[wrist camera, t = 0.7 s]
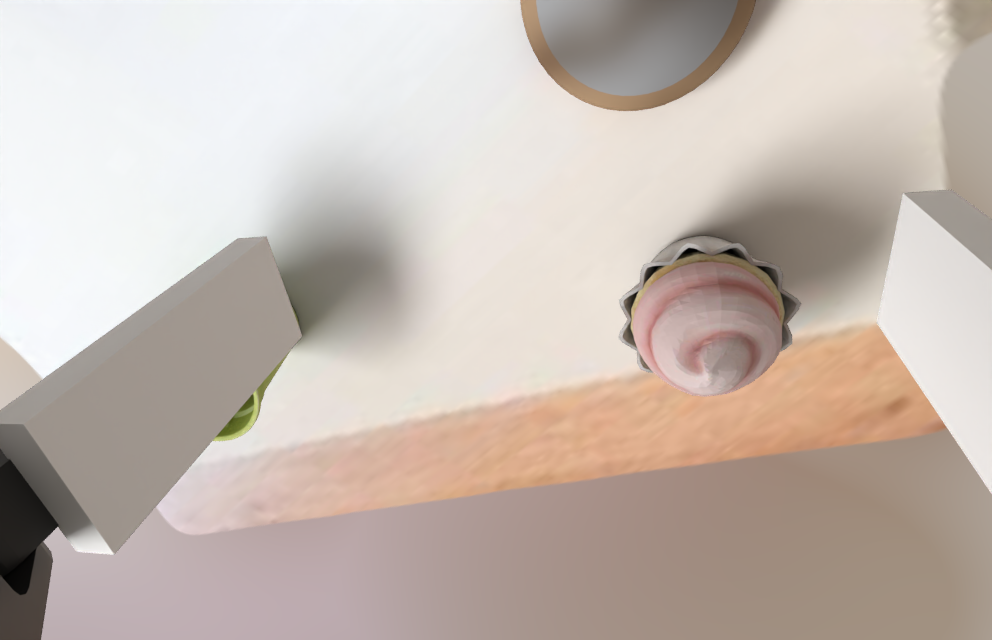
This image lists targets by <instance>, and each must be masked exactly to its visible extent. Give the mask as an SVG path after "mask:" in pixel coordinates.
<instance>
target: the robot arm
mask: <svg viewBox="0 0 992 640" xmlns="http://www.w3.org/2000/svg"><path fill="white" fill-rule="evenodd" d="M877 324H878V325H879V327H880V328H881V330H882V331H883V333H884V334H885V336H886V337H887V339H888V340H889V342H890V343H891V345H892V346H893V348H894V349H895V351H896V352H897V354H898V355H899V357H900V358H901V360H902V361H903V363H904V364H905V366H906V367H907V369H908V370H909V372H910V373H911V375H912V376H913V378H914V379H915V381H916V382H917V384H918V385H919V386H920V388H921V389H922V391H923V392H924V394H925V395H926V397H927V398H928V400H929V401H930V403H931V404H932V406H933V407H934V409H935V410H936V412H937V413H938V415H939V416H940V418H941V419H942V421H943V422H944V424H945V425H946V427H947V428H948V430H949V431H950V433H951V434H952V436H953V437H954V439H955V440H956V442H957V443H958V444H959V446H960V447H961V449H962V450H963V452H964V453H965V455H966V456H967V458H968V459H969V461H970V462H971V464H972V465H973V467H974V468H975V470H976V471H977V473H978V474H979V476H980V477H981V479H982V480H983V482H984V483H985V485H986V486H987V488H988V489H989V491H990V492H991V494H992V219H991V218H990V217H989V216H987V215H986V214H984V213H983V212H981V211H980V210H979V209H978V208H976V207H975V206H973V205H972V204H971V203H969V202H968V201H967V200H965V199H964V198H962V197H961V196H959V195H958V194H957V193H956V192H954V191H953V190H939V191H925V192H910V193H903V196H902V201H901V206H900V210H899V215H898V220H897V225H896V230H895V235H894V240H893V245H892V250H891V255H890V260H889V265H888V270H887V275H886V280H885V284H884V289H883V294H882V299H881V304H880V309H879V314H878V319H877ZM301 337H302V334H301V331H300V328H299V325H298V323H297V320H296V317H295V314H294V312H293V309H292V306H291V303H290V301H289V298H288V295H287V292H286V289H285V287H284V284H283V281H282V278H281V276H280V273H279V270H278V267H277V265H276V262H275V259H274V256H273V253H272V251H271V248H270V245H269V242H268V240H267V237H252V238H238V239H236V240H235V241H234V242H232V243H231V244H229V245H228V246H227V247H225V248H224V249H223V250H221V251H220V252H218V253H217V254H216V255H214V256H213V257H211V258H210V259H209V260H207V261H206V262H205V263H203V264H202V265H200V266H199V267H198V268H196V269H195V270H194V271H192V272H191V273H189V274H188V275H187V276H185V277H184V278H182V279H181V280H180V281H178V282H177V283H176V284H174V285H173V286H171V287H170V288H169V289H167V290H166V291H164V292H163V293H162V294H160V295H159V296H158V297H156V298H155V299H153V300H152V301H151V302H149V303H148V304H146V305H145V306H144V307H142V308H141V309H140V310H138V311H137V312H135V313H134V314H133V315H131V316H130V317H128V318H127V319H126V320H124V321H123V322H122V323H120V324H119V325H117V326H116V327H115V328H113V329H112V330H110V331H109V332H108V333H106V334H105V335H104V336H102V337H101V338H99V339H98V340H97V341H95V342H94V343H92V344H91V345H90V346H88V347H87V348H86V349H84V350H83V351H81V352H80V353H79V354H77V355H76V356H74V357H73V358H72V359H70V360H69V361H68V362H66V363H65V364H63V365H62V366H61V367H59V368H58V369H56V370H55V371H54V372H52V373H51V374H50V375H48V376H47V377H45V378H44V379H43V380H41V381H40V382H39V383H37V384H36V385H34V386H33V387H32V388H30V389H29V390H27V391H26V392H25V393H23V394H22V395H21V396H19V397H18V398H16V399H15V400H14V401H12V402H11V403H9V404H8V405H7V406H6V407H4V408H3V409H1V410H0V640H41V635H42V628H43V621H44V615H45V609H46V602H47V595H48V589H49V582H50V576H51V569H52V563H53V559H52V554H51V551H50V550H49V548H48V547H47V546H46V545H45V544H44V542H43V541H44V540H45V539H46V538H47V537H48V536H49V535H50V534H51V533H52V532H53V531H54V530H55V529H56V528H57V527H59V529H60V530H61V531H62V533H63V534H64V535H65V537H66V538H67V539H68V541H69V542H70V543H71V545H72V546H73V547H74V549H75V550H76V551H77V552H87V553H100V554H112V555H115V554H116V552H117V551H118V550H119V549H120V548H121V546H122V545H123V544H124V543H125V542H126V540H128V538H129V537H130V536H131V535H132V534H133V533H134V531H135V530H136V529H137V528H138V527H139V526H140V524H141V523H142V522H143V521H144V519H146V517H147V516H148V515H149V514H150V513H151V512H152V510H153V509H154V508H155V507H156V506H157V505H158V503H159V502H160V501H161V500H162V499H163V498H164V497H165V495H166V494H167V493H168V492H169V491H170V490H171V488H172V487H173V486H174V485H175V484H176V483H177V481H178V480H179V479H180V478H181V477H182V476H183V474H184V473H185V472H186V471H187V470H188V469H189V467H190V466H191V465H192V464H193V463H194V462H195V460H196V459H197V458H198V457H199V456H200V455H201V453H202V452H203V451H204V450H205V449H206V448H207V446H208V445H209V444H210V443H211V442H212V441H213V439H214V438H215V437H216V436H217V435H218V434H219V433H220V431H221V430H222V429H223V428H224V427H225V426H226V424H227V423H228V422H229V421H230V420H231V419H232V417H233V416H234V415H235V414H236V413H237V412H238V410H239V409H240V408H241V407H242V406H243V405H244V403H245V402H246V401H247V400H248V399H249V398H250V396H251V395H252V394H253V393H254V392H255V391H256V389H257V388H258V387H259V386H260V385H261V384H262V382H263V381H264V380H265V379H266V378H267V377H268V376H269V374H270V373H271V372H272V371H273V370H274V369H275V367H276V366H277V365H278V364H279V363H280V362H281V360H282V359H283V358H284V357H285V356H286V355H287V353H288V352H289V351H290V350H291V349H292V348H293V346H294V345H295V344H296V343H297V342H298V341H299V339H300V338H301Z"/></svg>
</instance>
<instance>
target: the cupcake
mask: <svg viewBox="0 0 992 640" xmlns="http://www.w3.org/2000/svg"><path fill="white" fill-rule="evenodd" d="M782 279H783V274H782V272H781V269H780V267H779V266H777V265H774V264H772V263H768V262H763V261H759V260H755V259H754V258H752V257H751V256H750V255H749V254H748V252H747V250H746V249H745V247H744V246H742V245H741V244H740V243H735V244H733V243H731V242H729V241H726V240H723V239H720V238H716V237H709V236H697V237H691V238H686V239H683V240H680V241H677V242H674V243H672V244H671V245H669V246H668V247H666V248H665V249H664V250H662V251H661V252H660V253H659V254H658V255H657V256H656V257H655V258H654V259H653V260H652V262H651V263H647V264H644V265H643V267H642V269H641V275H640V283H639V284H637V285H636V286H635V287H634V288H632V289H631V290H630V291H629V292H627V293H626V294H625V295H624V296H623V297H622V298H621V299H620V300H619V302H620V306H621V308H622V310H623V312H624V314H625V315H626V317H627V319H628V320H627V322H626V323H625V325H624V327H623V328H622V330H621V331H620V334H619V339H620V340H621V341H622V342H623V343H624V344H626V345H628V346H629V347H631V348H633V349H635V350H636V351H637V363H638V365H639V367H640V369H641V370H644V371H646V372H651V373H655V374H656V375H657V376H658V377H659V378H661V379H662V380H663V381H665V382H666V383H668V384H669V385H671V386H673V387H675V388H677V389H678V390H680V391H682V392H685V393H688V394H691V395H694V396H715V395H722V394H727V393H730V392H733V391H735V390H737V389H740V388H742V387H744V386H746V385H747V384H749V383H751V382H753V381H754V380H755V379H757V378H758V377H760V376H761V375H762V374H763V373H764V372H765V371H766V370H767V369H768V368H769V367H770V366H771V365H772V364H773V363H774V361H775V360H776V358H777V356H778V354H779V352H780V351H782V350H785V349H786V348H787V347H788V346H790V345H791V344H792V334H791V332H790V330H789V327H788V325H787V323H788V322H789V321H790V319H791V318H792V317H793V316H794V315H795V313H796V312H797V311H798V310H799V307H800V305H801V303H800V302H799V300H798V299H797V298H795V297H794V296H792V295H790V294H789V293H787V292H786V291H784V290H782Z"/></svg>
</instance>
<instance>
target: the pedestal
mask: <svg viewBox="0 0 992 640" xmlns="http://www.w3.org/2000/svg"><path fill="white" fill-rule="evenodd" d="M755 2H756V0H521V10H522V17H523V22H524V26H525V30H526V33H527V37H528V39H529V41H530V44H531V46H532V49H533V51H534V53H535V55H536V56H537V58H538V60H539V62H540V63H541V65H542V66H543V67H544V69H545V70H546V72H547V73H548V74H549V75H550V76H551V77H552V78H553V79H554V81H555V82H556V83H557V84H558V85H560V86H561V87H562V88H563V89H565V90H566V91H567V92H568V93H570V94H571V95H573V96H575V97H576V98H578V99H580V100H582V101H584V102H586V103H589V104H591V105H594V106H597V107H601V108H605V109H610V110H618V111H637V110H644V109H650V108H654V107H657V106H661V105H665V104H667V103H669V102H672V101H674V100H676V99H679V98H680V97H682V96H684V95H686V94H687V93H689V92H691V91H693V90H694V89H695V88H697V87H698V86H699V85H701V84H702V83H703V82H705V81H706V80H707V79H708V78H709V77H710V76H711V75H712V74H714V73H715V72H716V71H717V70H718V69H719V67H720V66H721V65H722V64H723V63H724V62H725V60H726V59H727V58H728V57H729V56H730V54H731V53H732V51H733V50H734V48H735V47H736V45H737V44H738V42H739V40H740V39H741V37H742V35H743V33H744V31H745V29H746V27H747V25H748V22H749V20H750V17H751V15H752V12H753V10H754V6H755Z"/></svg>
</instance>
